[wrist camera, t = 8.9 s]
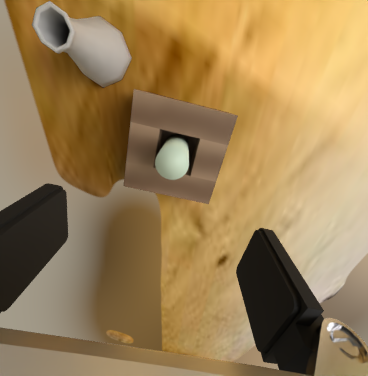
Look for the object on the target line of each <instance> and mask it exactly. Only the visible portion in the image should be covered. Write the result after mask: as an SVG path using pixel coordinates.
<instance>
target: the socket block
mask: <svg viewBox="0 0 368 376" xmlns="http://www.w3.org/2000/svg"><path fill="white" fill-rule="evenodd" d="M237 117H238V116H237V115H234V114H231V113H227V112H223V111H220V110H216V109H212V108H208V107H204V106H200V105H196V104H192V103H188V102H184V101H180V100H176V99H173V98H169V97H165V96H161V95H157V94H153V93H149V92H145V91H140V90H135V89H134V93H133V102H132V112H131V121H130V131H129V140H128V150H127V159H126V169H125V178H124V186H126V187H131V188H136V189H140V190H145V191H150V192H154V193H159V194H164V195H168V196H173V197H178V198H182V199H187V200H192V201H196V202H201V203H206V204H209V201H210V198H211V195H212V192H213V189H214V186H215V183H216V180H217V177H218V174H219V171H220V168H221V165H222V162H223V159H224V156H225V153H226V150H227V147H228V144H229V141H230V138H231V135H232V132H233V129H234V126H235V123H236V120H237ZM172 134H182V135H183V136H185V137H186V139H187V140H188V144H189V167H188V170H187V172H186V174H185V175H184V176H183V177H181V178H179V179H176V180H170V179H166V178H164V177H162V176H161V175H160V174H159V173H158V171H157V169H156V166H155V160H156V157H157V155H158V153H159V152H160V150H161V148H162V147H163V145H164V144H165V142H166V140H167V139H168V137H169V136H171V135H172Z"/></svg>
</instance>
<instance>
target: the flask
mask: <svg viewBox="0 0 368 376" xmlns="http://www.w3.org/2000/svg"><path fill="white" fill-rule="evenodd" d="M32 26H33V28H34V29H35V31H36V33H37V35H38V37H39V39H40V41H41V42H42V43H43V44H44V45H46V46H47V47H49V48H50V49H52V50H53V51H55V52H56V53H61V52H63V51H64V52H66V53H68V54H69V56H70V57H71V58H72V59H73V61H74V62H75V63H76V64H77V66H78V67H79V69H80V70H81V72H82V73H83V74H84V75H86V76H87V77H88V78H90V79H91V80H93V81H94V82H96V83H97V84H99V85H100V86H102V87H103V88H104V87H106V86H108V85H111V84H113V83H115V82H118V81H120V80H122V79H123V76H124V74H125V72H126V70H127V68H128V65H129V63H130V61H131V59H132V58H131V55H130V53H129V50H128V48H127V45H126V43H125V40H124V37H123V35H122V32H120V31H119V30H118V29H116V28H115V27H114V26H113V25H111V24H110V23H109V22H107V21H106V20H105V19H103V18H102V17H101V16H95V17H91V18H84V19H73V18H70V17H69V16H68V14H67V13H65V12H64V11H63V10H61V9H60V8H59V7H57V6H56V5H55V4H53V3H52V2H50V1H48V2H47V3H45V4H43V5H41V6H39V7H37V8H36V11H35V15H34V19H33V23H32Z"/></svg>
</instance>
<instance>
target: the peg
mask: <svg viewBox="0 0 368 376" xmlns="http://www.w3.org/2000/svg"><path fill="white" fill-rule="evenodd" d="M155 166H156V169H157V171H158V173H159V174H160V175H161V176H162V177H164V178H166V179H170V180H176V179H179V178H181V177H183V176H184V175H185V174H186V172H187V170H188V167H189V144H188V140H187V139H186V137H185V136H183V135H182V134H172V135H171V136H169V137H168V139H167V140H166V142H165V144H164V145H163V147H162V148H161V150H160V152H159V153H158V155H157V157H156V160H155Z"/></svg>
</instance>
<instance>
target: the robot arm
mask: <svg viewBox="0 0 368 376" xmlns="http://www.w3.org/2000/svg"><path fill="white" fill-rule="evenodd" d="M67 238H68V222H67V199H66V191H65V190H63V188H62V187H61V186H58V185H53V184H45V185H43V186H42V187H40V188H38V189H37V190H35V191H33V192H31V193H30V194H28V195H26V196H25V197H23V198H21V199H20V200H19V201H17V202H15V203H13V204H12V205H10V206H8V207H6V208H5V209H3V210H1V211H0V313H1V311H6V310H7V309H8V308H9V307H10V306H11V305H12V304H13V303H14V301H15V300H16V299H17V298H18V297H19V296H20V295H21V293H22V292H23V291H24V290H25V289H26V287H27V286H28V285H29V284H30V283H31V281H32V280H33V279H34V278H35V277H36V276H37V275H38V274H39V272H40V271H41V270H42V269H43V268H44V266H45V265H46V264H47V263H48V262H49V261H50V259H51V258H52V257H53V256H54V255H55V254H56V253H57V251H58V250H59V249H60V248H61V247H62V245H63V244H64V243H65V242H66V240H67ZM236 274H237V278H238V281H239V285H240V289H241V292H242V296H243V300H244V304H245V307H246V311H247V315H248V318H249V322H250V326H251V329H252V333H253V337H254V340H255V344H256V347H257V349H258V351H260V352H261V355H262V358H263V361H264V362H267V363H274V364H278V367H279V370H277V369H271V368H265V367H260V366H254V365H247V364H240V363H234V362H228V361H221V360H215V359H209V358H202V357H196V356H189V355H183V354H176V353H170V352H163V351H156V350H150V349H143V348H136V347H130V346H122V345H116V344H109V343H103V342H95V341H89V340H82V339H75V338H69V337H62V336H55V335H48V334H40V333H34V332H27V331H20V330H13V329H5V328H0V376H368V346H367V345H366V343H365V342H364V341H363V339H362V338H361V337H360V336H359V335H358V334H357V333H356V332H355V331H353V330H352V329H351V328H350V327H349V326H347V325H346V324H344V323H342V322H341V321H338V320H336V319H334V318H326V319H324V318H323V317H322V315H321V313H322V312H323V311H324V310H323V309H322V307H321V306H320V304H319V302H318V301H317V299H316V298H315V296H314V294H313V293H312V291H311V290H310V288H309V287H308V285H307V283H306V282H305V280H304V279H303V277H302V276H301V274H300V272H299V271H298V269H297V268H296V266H295V265H294V263H293V261H292V260H291V258H290V257H289V255H288V254H287V252H286V250H285V249H284V247H283V246H282V244H281V243H280V241H279V239H278V238H277V236H276V235H275V233H274V232H273V231H272V230H268V229H264V228H260V229H258V230H256V231H255V232H254V234H253V236H252V238H251V240H250V242H249V244H248V246H247V248H246V250H245V252H244V254H243V256H242V258H241V260H240V262H239V264H238V266H237V270H236Z"/></svg>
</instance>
